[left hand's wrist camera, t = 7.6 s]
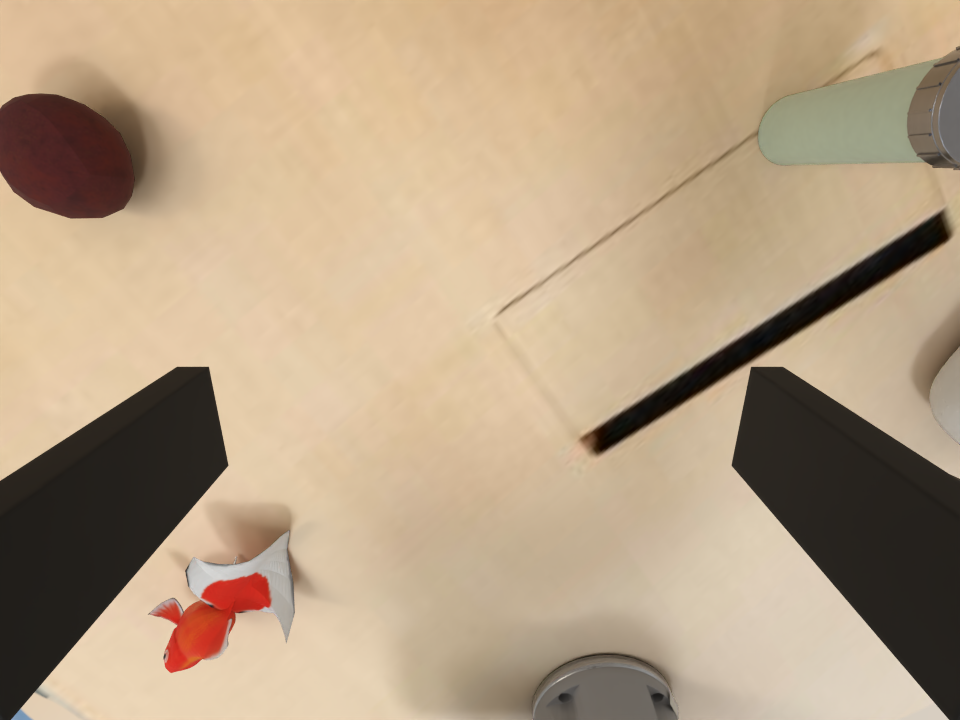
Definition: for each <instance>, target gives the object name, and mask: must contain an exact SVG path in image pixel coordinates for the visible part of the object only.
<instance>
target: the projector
mask: <svg viewBox="0 0 960 720" xmlns="http://www.w3.org/2000/svg"><path fill="white" fill-rule="evenodd" d="M929 401H930V407H931V410H932V412H933V415H934V417H935V419H936V421H937V422H938V424H939V425H940V426H941V427H942V428H943V430H944V431H945V432H946V433H947V434H948V435H950V436H951V437H952V438H953V439H954V440H955V441H956V442H957V443H958V444H959V445H960V347H959V348H958V349H957V350H956V351H955V352H954V353H953V355H952V356H951V357H950V358H949V359H948V360H947V362H946V363H945V364H944V366H943V367H942V368H941V369H940V371H939V373H938V374H937V376H936V377H935V379H934V381H933V383H932V386H931V389H930V396H929Z"/></svg>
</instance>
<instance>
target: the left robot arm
mask: <svg viewBox="0 0 960 720" xmlns="http://www.w3.org/2000/svg"><path fill="white" fill-rule="evenodd" d="M227 467H228V461H227V456H226V451H225V446H224V441H223V436H222V431H221V426H220V421H219V416H218V411H217V406H216V401H215V396H214V391H213V386H212V381H211V376H210V371H209V367H176V368H175V369H173V370H172V371H170V372H168V373H167V374H165V375H164V376H162V377H161V378H159V379H158V380H156V381H155V382H153V383H151V384H150V385H148V386H147V387H145V388H144V389H142V390H141V391H139V392H137V393H136V394H134V395H133V396H131V397H130V398H128V399H127V400H125V401H124V402H122V403H120V404H119V405H117V406H116V407H114V408H113V409H111V410H110V411H108V412H106V413H105V414H103V415H102V416H100V417H99V418H97V419H96V420H94V421H92V422H91V423H89V424H88V425H86V426H85V427H83V428H82V429H80V430H79V431H77V432H75V433H74V434H72V435H71V436H69V437H68V438H66V439H65V440H63V441H61V442H60V443H58V444H57V445H55V446H54V447H52V448H51V449H49V450H48V451H46V452H44V453H43V454H41V455H40V456H38V457H37V458H35V459H34V460H32V461H30V462H29V463H27V464H26V465H24V466H23V467H21V468H20V469H18V470H17V471H15V472H13V473H12V474H10V475H9V476H7V477H6V478H4V479H3V480H1V481H0V720H11V719H12V718H13V717H14V715H15V714H16V713H17V712H18V711H19V710H20V708H21V707H22V706H23V705H24V704H25V703H26V701H27V700H28V699H29V698H30V697H31V696H32V694H33V693H34V692H35V691H36V690H37V689H38V687H39V686H40V685H41V684H42V683H43V682H44V680H45V679H46V678H47V677H48V676H49V675H50V673H51V672H52V671H53V670H54V669H55V668H56V666H57V665H58V664H59V663H60V662H61V661H62V659H63V658H64V657H65V656H66V655H67V653H68V652H69V651H70V650H71V649H72V648H73V646H74V645H75V644H76V643H77V642H78V641H79V639H80V638H81V637H82V636H83V635H84V634H85V632H86V631H87V630H88V629H89V628H90V627H91V625H92V624H93V623H94V622H95V621H96V620H97V618H98V617H99V616H100V615H101V614H102V613H103V611H104V610H105V609H106V608H107V607H108V606H109V604H110V603H111V602H112V601H113V600H114V599H115V597H116V596H117V595H118V594H119V593H120V592H121V590H122V589H123V588H124V587H125V586H126V585H127V583H128V582H129V581H130V580H131V579H132V578H133V576H134V575H135V574H136V573H137V572H138V571H139V569H140V568H141V567H142V566H143V565H144V564H145V562H146V561H147V560H148V559H149V558H150V557H151V555H152V554H153V553H154V552H155V551H156V550H157V548H158V547H159V546H160V545H161V544H162V543H163V541H164V540H165V539H166V538H167V537H168V535H169V534H170V533H171V532H172V531H173V530H174V528H175V527H176V526H177V525H178V524H179V523H180V521H181V520H182V519H183V518H184V517H185V516H186V514H187V513H188V512H189V511H190V510H191V509H192V507H193V506H194V505H195V504H196V503H197V502H198V500H199V499H200V498H201V497H202V496H203V495H204V493H205V492H206V491H207V490H208V489H209V488H210V486H211V485H212V484H213V483H214V482H215V481H216V479H217V478H218V477H219V476H220V475H221V474H222V472H223V471H224V470H225V469H226V468H227ZM732 467H733V468H734V469H735V470H736V471H737V472H738V474H739V475H740V476H741V477H742V478H743V479H744V481H745V482H746V483H747V484H748V485H749V486H750V488H751V489H752V490H753V491H754V492H755V493H756V495H757V496H758V497H759V498H760V499H761V500H762V502H763V503H764V504H765V505H766V506H767V507H768V509H769V510H770V511H771V512H772V513H773V514H774V516H775V517H776V518H777V519H778V520H779V521H780V523H781V524H782V525H783V526H784V527H785V528H786V530H787V531H788V532H789V533H790V534H791V535H792V537H793V538H794V539H795V540H796V541H797V543H798V544H799V545H800V546H801V547H802V548H803V550H804V551H805V552H806V553H807V554H808V555H809V557H810V558H811V559H812V560H813V561H814V562H815V564H816V565H817V566H818V567H819V568H820V569H821V571H822V572H823V573H824V574H825V575H826V576H827V578H828V579H829V580H830V581H831V582H832V583H833V585H834V586H835V587H836V588H837V589H838V590H839V592H840V593H841V594H842V595H843V596H844V597H845V599H846V600H847V601H848V602H849V603H850V604H851V606H852V607H853V608H854V609H855V610H856V611H857V613H858V614H859V615H860V616H861V617H862V618H863V620H864V621H865V622H866V623H867V624H868V625H869V627H870V628H871V629H872V630H873V631H874V632H875V634H876V635H877V636H878V637H879V638H880V639H881V641H882V642H883V643H884V644H885V645H886V646H887V648H888V649H889V650H890V651H891V652H892V653H893V655H894V656H895V657H896V658H897V659H898V661H899V662H900V663H901V664H902V665H903V666H904V668H905V669H906V670H907V671H908V672H909V673H910V675H911V676H912V677H913V678H914V679H915V680H916V682H917V683H918V684H919V685H920V686H921V687H922V689H923V690H924V691H925V692H926V693H927V694H928V696H929V697H930V698H931V699H932V700H933V701H934V703H935V704H936V705H937V706H938V707H939V708H940V710H941V711H942V712H943V713H944V714H945V715H946V717H947V718H948V719H949V720H960V479H959V478H957V477H954V476H952V475H950V474H948V473H947V472H945V471H943V470H942V469H940V468H939V467H937V466H936V465H934V464H933V463H931V462H930V461H928V460H926V459H925V458H923V457H922V456H920V455H919V454H917V453H916V452H914V451H912V450H911V449H909V448H908V447H906V446H905V445H903V444H902V443H900V442H899V441H897V440H895V439H894V438H892V437H891V436H889V435H888V434H886V433H885V432H883V431H881V430H880V429H878V428H877V427H875V426H874V425H872V424H871V423H869V422H868V421H866V420H864V419H863V418H861V417H860V416H858V415H857V414H855V413H854V412H852V411H850V410H849V409H847V408H846V407H844V406H843V405H841V404H840V403H838V402H836V401H835V400H833V399H832V398H830V397H829V396H827V395H826V394H824V393H823V392H821V391H819V390H818V389H816V388H815V387H813V386H812V385H810V384H809V383H807V382H805V381H804V380H802V379H801V378H799V377H798V376H796V375H795V374H793V373H792V372H790V371H788V370H787V369H785V368H784V367H751V371H750V376H749V381H748V386H747V391H746V396H745V401H744V406H743V411H742V416H741V421H740V426H739V431H738V436H737V441H736V446H735V451H734V456H733V461H732ZM532 714H533V720H678V719H679V716H678V704H677V703H676V701H675V699H674V697H673V695H672V693H671V690H670V687H669V685H668V683H667V681H666V680H665V678H664V677H663V676H662V675H661V674H660V673H659V672H658V671H657V670H656V669H654V668H653V667H652V666H650V665H648V664H646V663H644V662H642V661H640V660H637V659H634V658H630V657H626V656H619V655H596V656H589V657H585V658H581V659H577V660H574V661H572V662H569V663H567V664H565V665H563V666H561V667H559V668H558V669H556V670H555V671H553V672H552V673H551V674H550V675H548V676H547V677H546V678H545V679H544V680H543V682H542V683H541V684H540V686H539V687H538V689H537V691H536V693H535V695H534V698H533V703H532Z"/></svg>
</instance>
